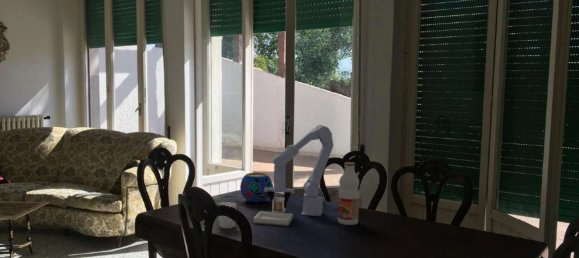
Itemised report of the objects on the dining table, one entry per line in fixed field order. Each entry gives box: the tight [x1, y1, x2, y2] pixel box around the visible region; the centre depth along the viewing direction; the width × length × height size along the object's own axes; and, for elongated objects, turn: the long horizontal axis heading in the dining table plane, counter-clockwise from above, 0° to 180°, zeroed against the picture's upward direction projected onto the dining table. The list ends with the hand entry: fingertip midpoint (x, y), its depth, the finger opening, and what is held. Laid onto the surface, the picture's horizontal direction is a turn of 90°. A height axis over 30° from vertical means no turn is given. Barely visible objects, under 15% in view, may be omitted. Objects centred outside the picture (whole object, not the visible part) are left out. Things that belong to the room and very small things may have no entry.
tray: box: [253, 210, 294, 227], centre depth 216 cm, size 16×12×2 cm
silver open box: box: [271, 196, 287, 213], centre depth 228 cm, size 6×6×6 cm
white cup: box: [218, 201, 237, 229], centre depth 205 cm, size 8×8×10 cm
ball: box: [275, 204, 281, 210], centre depth 227 cm, size 3×3×3 cm
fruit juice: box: [337, 161, 360, 226], centre depth 215 cm, size 9×9×28 cm
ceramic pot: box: [239, 172, 274, 203], centre depth 252 cm, size 18×18×15 cm
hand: (279, 207), depth 228 cm, fingers closed on silver open box, 6 cm apart
